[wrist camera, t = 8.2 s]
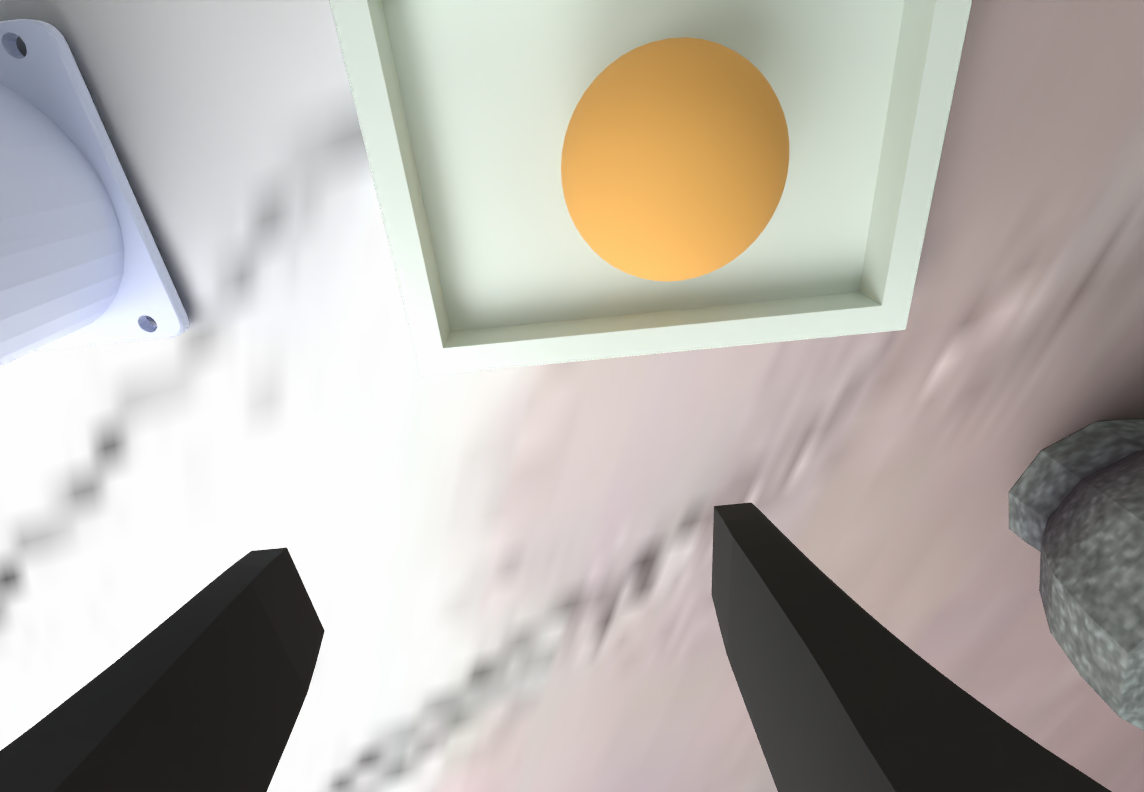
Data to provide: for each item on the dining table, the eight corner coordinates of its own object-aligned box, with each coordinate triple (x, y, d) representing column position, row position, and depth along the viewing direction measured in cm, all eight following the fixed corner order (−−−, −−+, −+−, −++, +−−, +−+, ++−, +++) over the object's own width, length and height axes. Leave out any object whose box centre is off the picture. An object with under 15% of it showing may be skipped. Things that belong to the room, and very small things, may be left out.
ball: (567, 265, 16) (584, 325, 11) (543, 63, 13) (551, 40, 9) (739, 241, 16) (821, 292, 11) (744, 37, 14) (849, 1, 9)
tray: (433, 351, 18) (421, 376, 16) (344, -39, 13) (314, -59, 11) (873, 309, 17) (905, 329, 16) (943, -104, 13) (998, -134, 11)
